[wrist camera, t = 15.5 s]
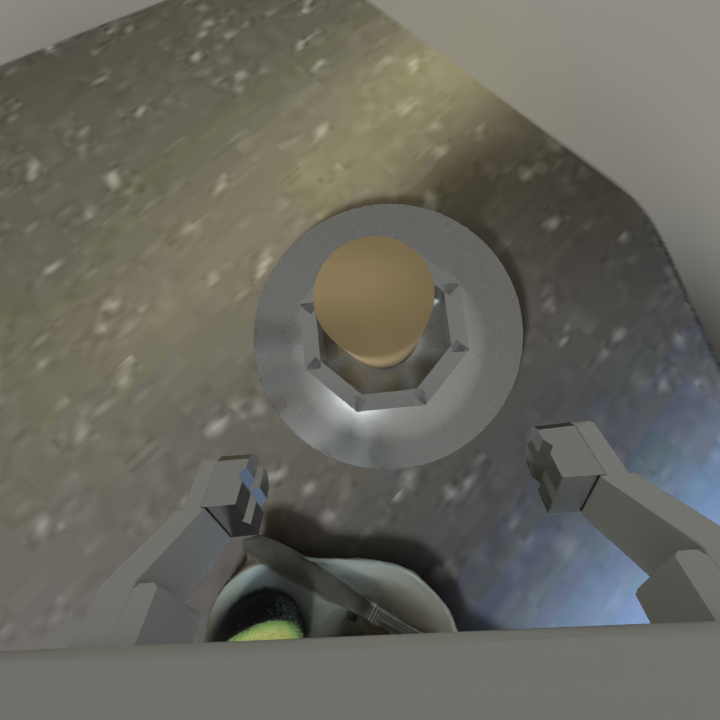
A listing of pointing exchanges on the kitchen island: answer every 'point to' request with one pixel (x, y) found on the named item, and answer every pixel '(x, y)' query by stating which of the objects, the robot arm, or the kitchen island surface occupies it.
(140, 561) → the robot arm
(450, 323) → the collar
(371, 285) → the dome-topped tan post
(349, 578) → the salad plate
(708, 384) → the kitchen island surface
